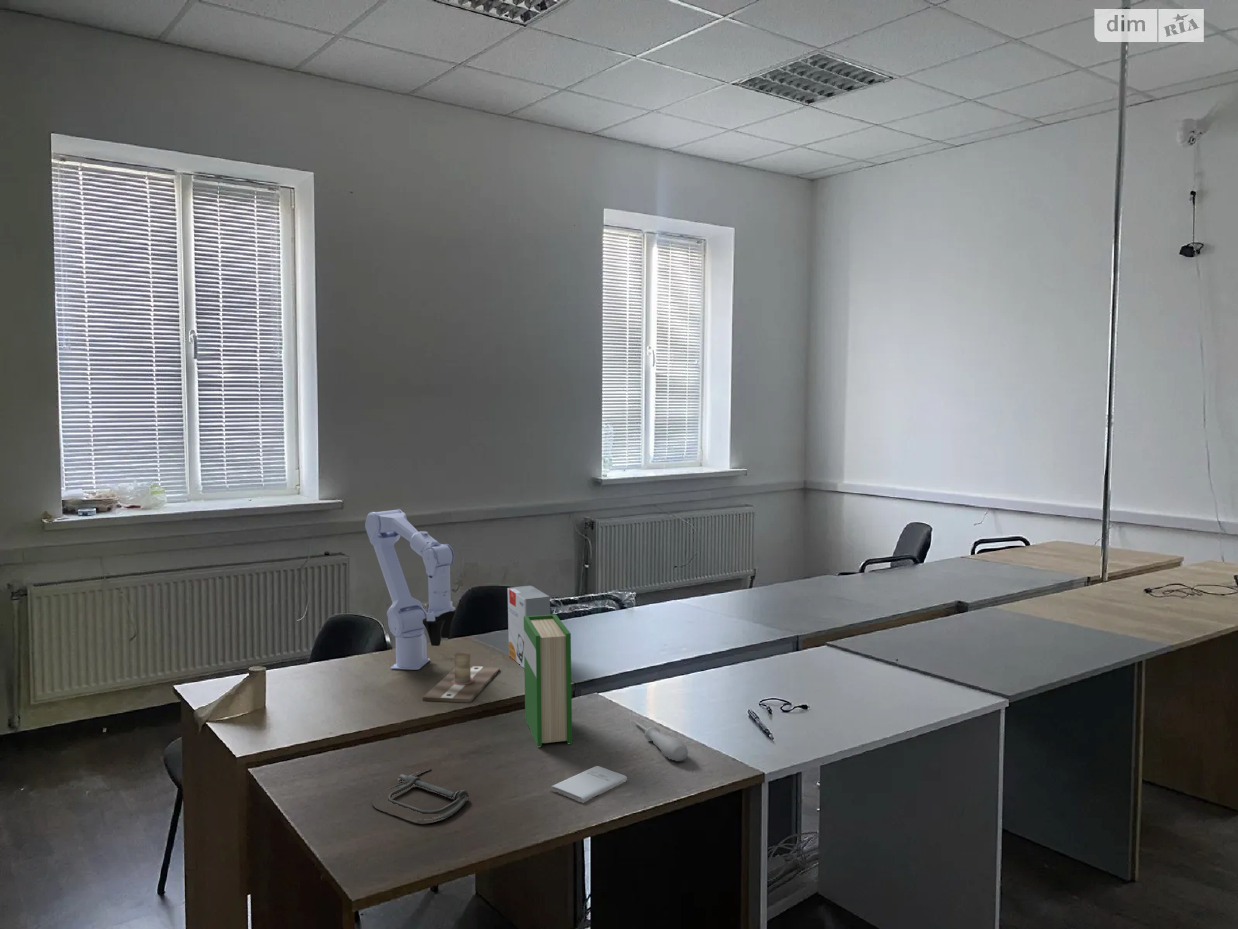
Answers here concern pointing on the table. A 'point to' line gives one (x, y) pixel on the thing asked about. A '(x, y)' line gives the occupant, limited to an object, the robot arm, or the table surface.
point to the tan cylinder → (462, 667)
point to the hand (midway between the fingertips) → (440, 641)
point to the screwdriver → (666, 743)
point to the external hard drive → (589, 782)
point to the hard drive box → (521, 605)
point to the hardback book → (547, 679)
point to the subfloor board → (461, 686)
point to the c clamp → (447, 810)
